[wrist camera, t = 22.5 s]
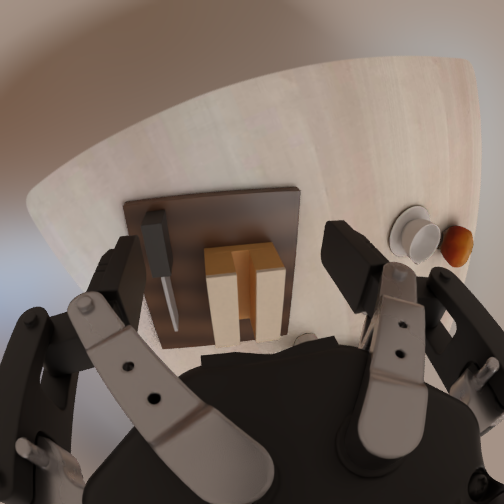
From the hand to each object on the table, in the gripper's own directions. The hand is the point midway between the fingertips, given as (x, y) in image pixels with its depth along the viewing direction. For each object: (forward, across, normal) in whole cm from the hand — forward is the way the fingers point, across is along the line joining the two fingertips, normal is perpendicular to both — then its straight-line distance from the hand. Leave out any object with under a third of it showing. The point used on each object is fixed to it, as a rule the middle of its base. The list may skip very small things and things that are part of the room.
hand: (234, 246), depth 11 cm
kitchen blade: (+21, +7, +15) cm, 27 cm away
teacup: (+23, -33, +13) cm, 42 cm away
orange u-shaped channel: (+21, -3, +18) cm, 28 cm away
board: (+22, 0, +19) cm, 29 cm away
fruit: (+22, -46, +15) cm, 53 cm away
